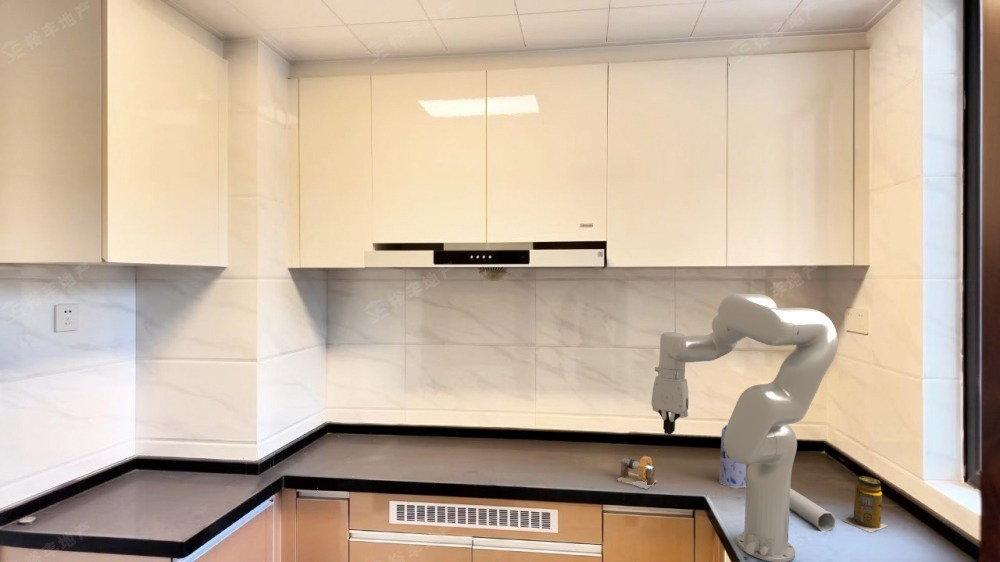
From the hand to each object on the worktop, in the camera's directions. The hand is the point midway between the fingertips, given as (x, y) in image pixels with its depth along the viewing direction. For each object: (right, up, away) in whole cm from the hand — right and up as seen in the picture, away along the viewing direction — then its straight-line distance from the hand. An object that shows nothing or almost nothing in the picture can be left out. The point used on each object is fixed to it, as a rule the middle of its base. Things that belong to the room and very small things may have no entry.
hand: (668, 432), depth 160 cm
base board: (-8, -17, +6) cm, 20 cm away
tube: (+33, -19, -10) cm, 39 cm away
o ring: (-6, -16, +5) cm, 18 cm away
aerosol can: (+22, -18, +7) cm, 30 cm away
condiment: (+47, -20, -18) cm, 54 cm away
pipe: (-8, -14, +6) cm, 17 cm away
